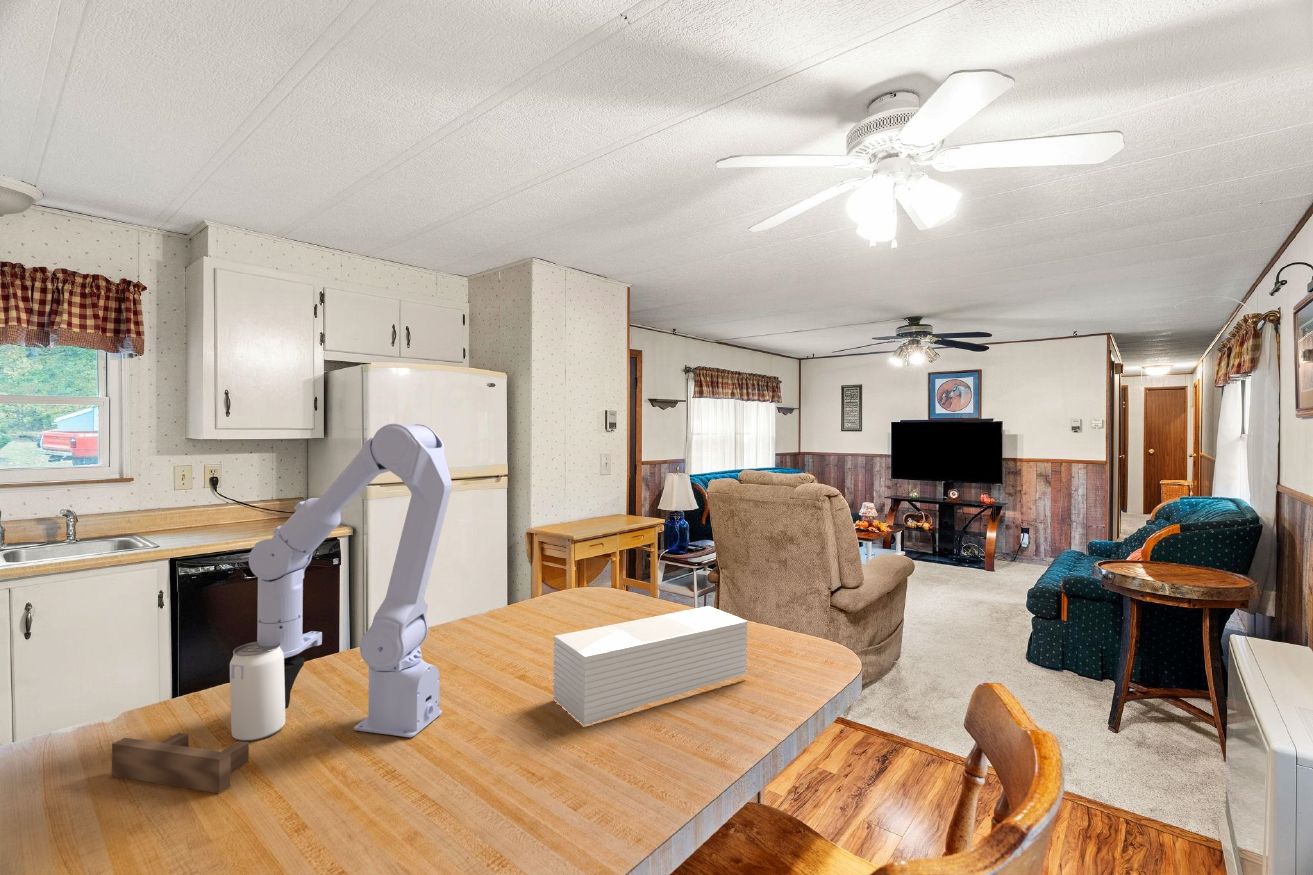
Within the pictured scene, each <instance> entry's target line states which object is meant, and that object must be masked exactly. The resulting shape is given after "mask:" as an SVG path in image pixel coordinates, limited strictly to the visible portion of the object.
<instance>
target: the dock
mask: <svg viewBox="0 0 1313 875" xmlns="http://www.w3.org/2000/svg"><path fill="white" fill-rule="evenodd" d="M189 740H190V739H189V733H183V732H178V733H176V734H174V735H172V736H170V737H168V738H166V739H164V740H162V741H159V742H158V741H157V742H156V741H152V740H151V741H150V740H142V739H136V738H131V737H129V738H128V737H123V738H121V739H119V740H117V741H114V742H112V743H111V776H112V775H113V776H112V777H117V776H118V777H119V778H124V779H130V780H137V781H143V782H149V783H154V784H159V785H160V784H161V785H168V786H173V787H180V788H184V789H191V790H196V791H204V792H210V793H217V794H221V793H222V792H224V791H225V790H226V789H228V788H230V787H231V780H232V779H231V775H232V774H231V773H233V772H234V771H236V770H237V769H239V768H241V767H243V766H245V765H246V764H247V763H249V762H250V760H249V758H250V757H249V754H250V753H249V750H250V747H249V746H250V741H239V740H237V742H235V743H234V744H231V745H230V746H228V747H226V748H225V749H223V750H221V751H218V750H214V749H213V750H212V749H204V748H198V747H197V748H196V747H191V746H190V744H189ZM118 777H117V778H118Z"/></svg>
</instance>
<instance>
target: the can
mask: <svg viewBox="0 0 1313 875" xmlns="http://www.w3.org/2000/svg"><path fill="white" fill-rule="evenodd" d="M232 653H233V655H232V658H231V660H230V662H229V688H230V689H229V691H230V692H229V694H230V697H229V698H230V725H231V726H230V728H231V736H232V737H233V738H234V739H235V740H236V741H241V742H253V741H258V740H263V739H265V738H269V737H270V736H273V735H275V734H277V733H278V732H279V731H281V729H282V728H283V726H284V725H285V724H286V709H285V678H284V654H283V651H282V650H281V648H280V643H279V645H278V646H271V647H265V646H260V645H258V642H257V641H253V642H249V643H245V644H242V645H240V646H238V647H236V648H234V649H233V651H232ZM232 664H234V665H242V666H244V679H243V680H242V679H241V668H240V667H239V666H236V667H235V668H234V675H235V678H231V665H232Z"/></svg>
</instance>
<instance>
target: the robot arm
mask: <svg viewBox="0 0 1313 875" xmlns="http://www.w3.org/2000/svg"><path fill="white" fill-rule="evenodd" d="M373 435H374V436H373V437H370V438H369V439H368V440H366V441H365V442H364V443H363V445H362V447H361V449H359V452H358V453H357V454H356V456H355V457H354V458H353V459H352V460H351V461H350V463H349V464H348V465H347V466H346V467H345V469H344V470H343V471H342V472H341V473H340V474H339V475H338V476H337V478H336V479H335V480H334V481H333V482H332V484H331V485H330V486H329V487H328V488H327V490H326V491H325V492H324V493H323V494H322V495H321V496H320V497H311V498H308V499H306V500H303V501H299V502H297V503H296V505H294V507H293V509H294V510H295V512H294V513H293V514H292V515H291V516H290V517H289V518H288V519H287V520H286V522H284V523H283V524H282V525H279V526H277V527H275V529H273V531H272V533H273V535H272V538H266V539H263V540H260V541H257V542H256V543H255V544H254V546H253V548H252V549H251V551H250V553H249V555H248V565H249V569H250V571H251V573H252V574H253V575H254V576H256V578H257V626H256V627H257V629H256V630H257V631H256V632H257V633H256V634H257V635H256V637H257V638H256V640H257V641H256V642H258V645H260V646H265V647H271V646H278V645H279V643H280V648H281V650H282V651H283V654H284V678H285V710H286V709H289V706H290V702H291V692H292V690H293V687H294V683H295V681H296V679H297V676H298V675H299V673H300V671H301V670H302V667H304V665H305V657H303V656H297V655H299V654H300V653H302V652H303V651H305V650H307V649H309V648H312V647H318V646H321V645H322V644H323V643H322V642H323V632H322V631H314V630H313V631H311V630H310V631H309V632H306V633H303V618H304V617H303V613H304V612H303V607H304V606H303V605H304V604H303V602H304V601H303V600H304V598H303V597H304V594H303V593H304V592H303V591H304V579H305V571H306V569H307V567H308V566H309V565H310V563H311V561H312V558H313V552H315V550H316V549H318V547H319V546H321V544H322V543H323V542H324V541H325V540H327V538H328V537H329V536H330V535H331V533H333V532H334V531H335V529H336V528H337V527H338V526H340V524H341V521H342V516H341V514H342V513H341V511H342V510H343V509H344V508H345V507H346V506H347V505H349V503H350V502H351V501H352V500H354V499H355V498H356V496H358V495H359V494H360V493H361V492H362V491H363V490H364V489H365V488H366V487H367V486H368V485H369V484H371V483H372V482H373V480H374V479H376V478H377V477H378V476H379V475H382V474H384V473H388V472H391V474H394V475H395V476H396V477H398V478H399V479H401V481H402V482H403V484H404V485H405V486H406V487H407V489H408V490H409V491H410V494H411V496H410V500H409V504H408V506H407V511H406V515H405V519H404V524H403V528H402V532H401V535H400V539H399V543H398V548H397V550H396V555H395V559H394V563H393V567H392V571H391V574H390V575H391V576H390V578H389V582H388V587H387V590H386V595H385V598H384V599H383V601H382V603H381V604H380V606H379V607H378V609H377V611H376V612H375V614H374V616H373V619H372V623H371V626H369V628H368V630H367V631H366V632H365V633H364V634H363V636H362V637H361V640H360V644H359V652H360V656H361V658H362V660H363V661H364V663H366V665H368V687H367V688H368V689H367V690H368V696H367V698H368V700H367V702H368V705H367V708H368V710H367V711H368V712H367V716H368V717H366V718H365V719H363V720H362V721H360V722H359V723H357V724H356V725H354V727H353V729H354V730H355V731H358V732H367V733H372V734H373V733H374V734H381V735H382V734H383V735H387V736H388V735H390V736H396V737H403V738H412V737H415V736H416V735H417V734H418V733H420V732H421V731H422V730H423V729H424V728H426V727H427V726H428V725H429V724H430V723H432V722H433V721H434V720H436V719H437V718H438V717H439V716H440V715H442V714H443V710H442V709H440V698H441V697H440V696H441V694H440V691H441V690H440V689H441V688H440V687H441V686H440V685H441V683H440V680H441V678H440V675H441V674H440V672H439V668H438V667H437V666H436V665H434V664H432V663H428V662H426V661H424V659H423V658H422V656H423V655H422V650H421V645H422V644H423V642H425V640H426V639H427V637H428V633H429V625H428V620H427V612H428V609H429V608H428V607H429V605H428V603H427V602H426V600H425V595H426V591H427V589H428V588H427V587H428V585H429V584H428V582H429V580H430V579H429V578H430V575H431V571H432V568H433V563H434V559H435V555H436V551H437V548H438V543H439V540H440V536H441V531H442V528H443V525H444V524H443V523H444V521H445V516H446V512H447V508H448V504H449V500H450V497H451V496H450V495H451V493H452V490H453V489H452V488H453V483H452V482H453V481H452V477H451V474H450V471H449V468H448V463H447V460H446V455H445V446H446V445H445V443H444V442H443V440H442V439H441V438H440V437H439V435H438V434H437V433H436V431H434V429H432V427H429V426H428V425H427V424H426V425H425V424H419V423H418V424H401V423H400V424H399V423H387V424H385V425H383V426H381V427H380V428H379V429H378V430H377V431H376V432H375V434H373ZM236 666H239V667H240V668H241V679H242V680H243V679H244V666H242V665H234V664H232V665H231V678H235V675H234V668H235V667H236Z"/></svg>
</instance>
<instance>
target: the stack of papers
mask: <svg viewBox="0 0 1313 875" xmlns="http://www.w3.org/2000/svg"><path fill="white" fill-rule="evenodd" d="M553 647H554V648H553V678H552V679H553V681H552V682H553V685H552V688H553V690H552V692H553V694H552V695H553V697H552V698H554V699H555V700H556V701H557V702H558V703H559V704H560V705H561V706H563V707H564V708H565V709H566V710H567V711H568V712H569V713H571V715H573V716H574V717H575V719H577V720H579V722H581V723H582V724H583V725H584V726H585V725H586V724H592V723H593V722H597V721H599V720H603V719H607V718H610V717H613V716H615V715H619V714H620V713H624V712H626V711H630V710H633V709H634V708H637V707H639V706H642V705H645V704H648V703H652V702H655V701H658V700H662V699H665V698H669V697H672V696H674V695H678V694H682V693H684V692H688V691H690V690H694V689H697V688H701V687H703V686H708V685H712V684H714V683H718V682H720V681H725V680H727V679H731V678H735V677H738V676H742V675H744V674H748V672H747V669H748V668H747V667H748V666H747V665H748V660H747V659H748V649H747V648H748V620H746V619H743V618H741V617H738V616H736V615H733V614H731V613H728V612H725V611H723V610H721V609H717V608H715V607H712V606H710V605H707V606H702V607H698V608H693V609H686V610H682V611H676V612H671V613H665V614H661V615H655V616H650V617H646V618H639V619H635V620H630V621H629V620H628V621H624V622H619V623H614V624H609V625H608V624H607V625H603V626H598V627H593V628H588V629H582V630H577V631H573V632H572V631H571V632H567V633H566V632H565V633H563V634H556V635H554V636H553Z"/></svg>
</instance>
